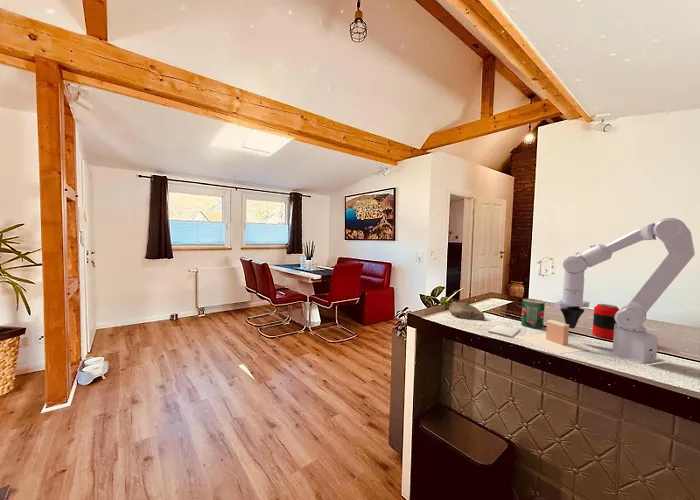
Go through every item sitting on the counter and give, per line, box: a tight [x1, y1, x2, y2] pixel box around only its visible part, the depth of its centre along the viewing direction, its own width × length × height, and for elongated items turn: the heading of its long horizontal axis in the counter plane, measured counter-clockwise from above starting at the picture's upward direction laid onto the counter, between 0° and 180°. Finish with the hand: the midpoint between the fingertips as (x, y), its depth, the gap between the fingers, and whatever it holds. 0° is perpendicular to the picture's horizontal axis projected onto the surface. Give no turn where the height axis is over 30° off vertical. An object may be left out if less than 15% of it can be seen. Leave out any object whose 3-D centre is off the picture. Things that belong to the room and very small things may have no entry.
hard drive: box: [487, 324, 521, 339], centre depth 111 cm, size 2×8×12 cm
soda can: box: [592, 303, 620, 341], centre depth 110 cm, size 8×8×12 cm
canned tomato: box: [520, 298, 546, 330], centre depth 120 cm, size 8×8×11 cm
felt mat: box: [514, 333, 589, 355], centre depth 100 cm, size 16×14×1 cm
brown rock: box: [448, 301, 485, 321], centre depth 138 cm, size 14×5×20 cm
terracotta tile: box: [545, 319, 570, 345], centre depth 101 cm, size 6×2×7 cm, turn 18°
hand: (570, 327), depth 103 cm, fingers closed
